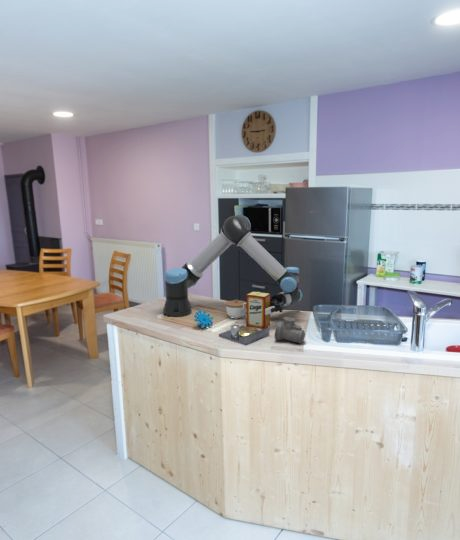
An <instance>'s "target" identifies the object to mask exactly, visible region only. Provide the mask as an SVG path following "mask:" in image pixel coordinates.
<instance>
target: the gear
mask: <svg viewBox="0 0 460 540" xmlns="http://www.w3.org/2000/svg"><path fill="white" fill-rule="evenodd" d="M202 312H203V313H202ZM193 316H194V322H197V323H196V325H197V326H200V327H201V328H202V329H204V328H205V327H209V326H211V325H213V324H214V320H213V319H215V316H214V315H213V316H211V314H210V313H207V311H206V310H204V311H203V310H202V309H199V310H197V311H195V314H194V315H193ZM200 324H201V325H200ZM211 327H212V326H211Z"/></svg>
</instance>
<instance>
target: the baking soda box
mask: <svg viewBox="0 0 460 540" xmlns="http://www.w3.org/2000/svg"><path fill="white" fill-rule="evenodd" d="M245 297H246V301H245V302H246V312H245V314H246V316H245V317H246V324H245V326H246V327H251V328H256V329H259V330H261V329H264V328H266V327H270V325H271V313H270V314H267V315H265V309H266V308H269V307H270V298H271V293H267V292H261V291H251V292H249V293H247V294H246V296H245Z"/></svg>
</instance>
